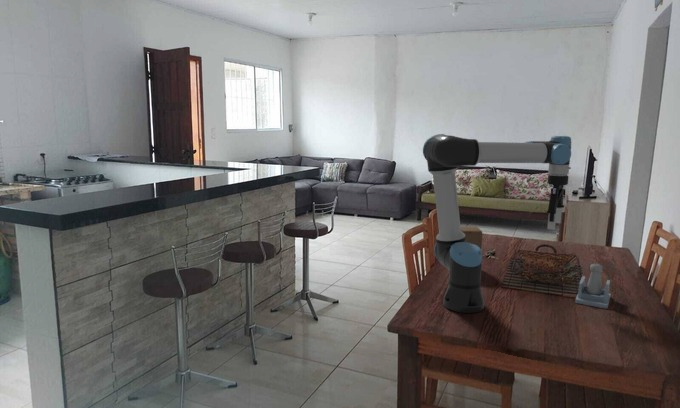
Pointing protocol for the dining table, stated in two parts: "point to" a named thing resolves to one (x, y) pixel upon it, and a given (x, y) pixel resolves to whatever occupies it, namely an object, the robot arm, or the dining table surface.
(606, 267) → the dining table surface
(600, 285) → the salt shaker
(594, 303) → the blue bracket with posts
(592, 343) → the dining table surface
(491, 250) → the dining table surface
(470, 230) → the wooden block
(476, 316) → the dining table surface
